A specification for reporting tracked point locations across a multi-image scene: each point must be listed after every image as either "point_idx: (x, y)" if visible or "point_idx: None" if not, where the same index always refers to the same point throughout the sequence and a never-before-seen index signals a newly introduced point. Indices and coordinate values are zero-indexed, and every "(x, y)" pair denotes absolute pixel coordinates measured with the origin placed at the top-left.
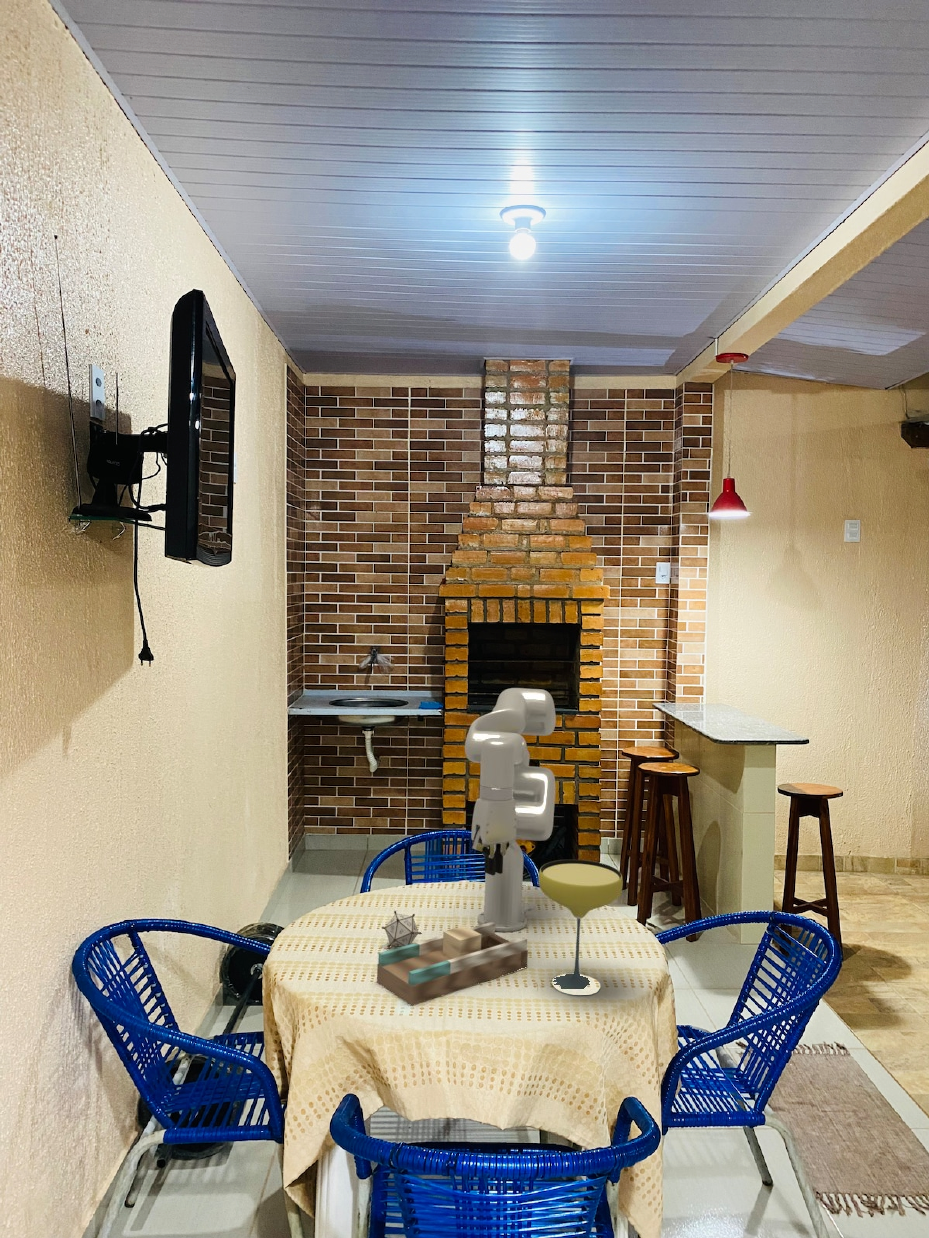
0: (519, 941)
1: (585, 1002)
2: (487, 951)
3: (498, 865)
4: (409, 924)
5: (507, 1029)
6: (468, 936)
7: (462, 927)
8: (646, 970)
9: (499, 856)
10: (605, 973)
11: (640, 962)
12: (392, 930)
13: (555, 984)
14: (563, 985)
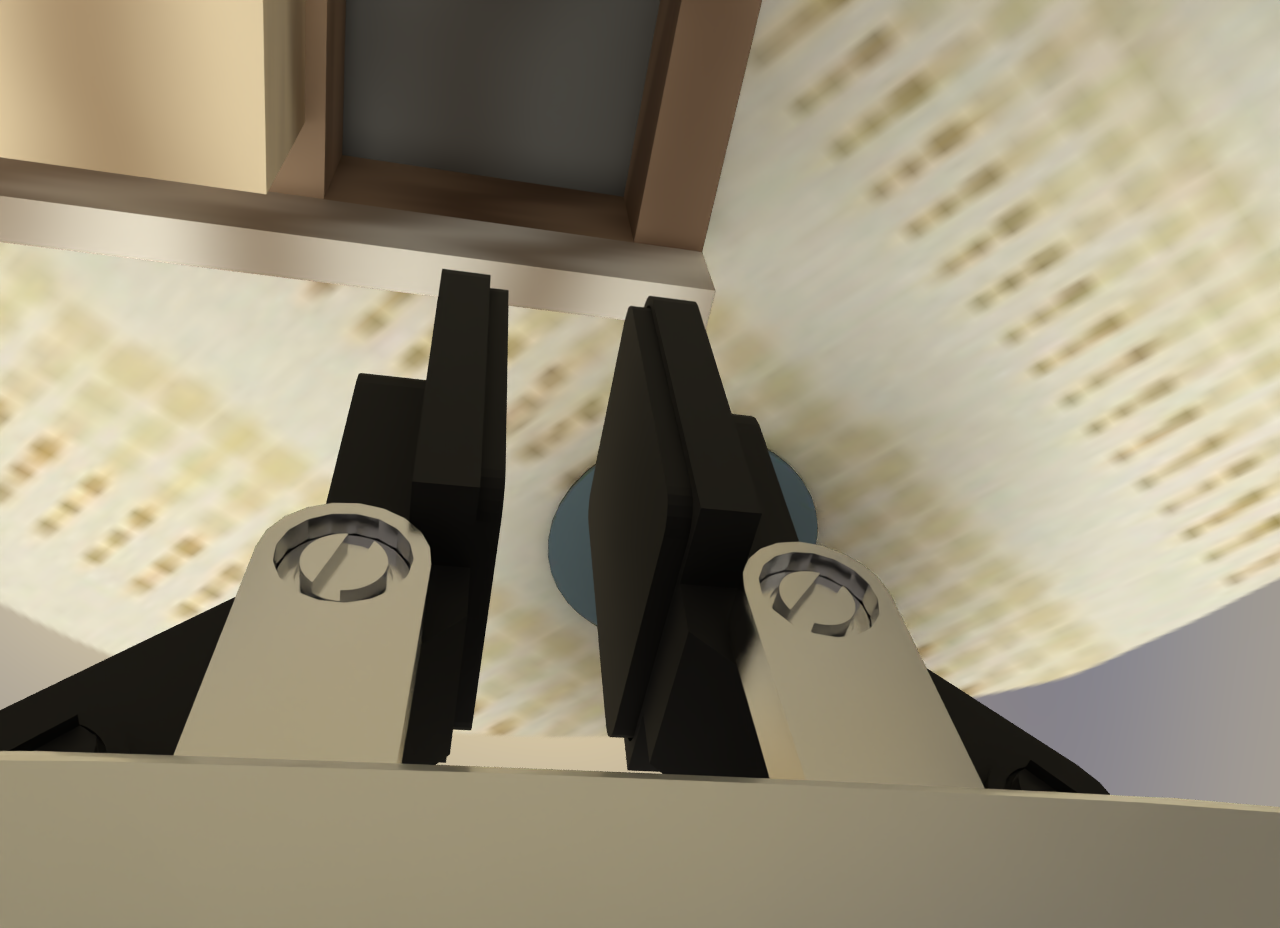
0: (622, 317)
1: (552, 657)
2: (255, 273)
3: (603, 565)
4: None
5: (17, 609)
6: (110, 140)
7: None
8: (1064, 641)
9: (637, 714)
10: (911, 555)
11: (1144, 585)
12: None
13: (585, 499)
14: None
